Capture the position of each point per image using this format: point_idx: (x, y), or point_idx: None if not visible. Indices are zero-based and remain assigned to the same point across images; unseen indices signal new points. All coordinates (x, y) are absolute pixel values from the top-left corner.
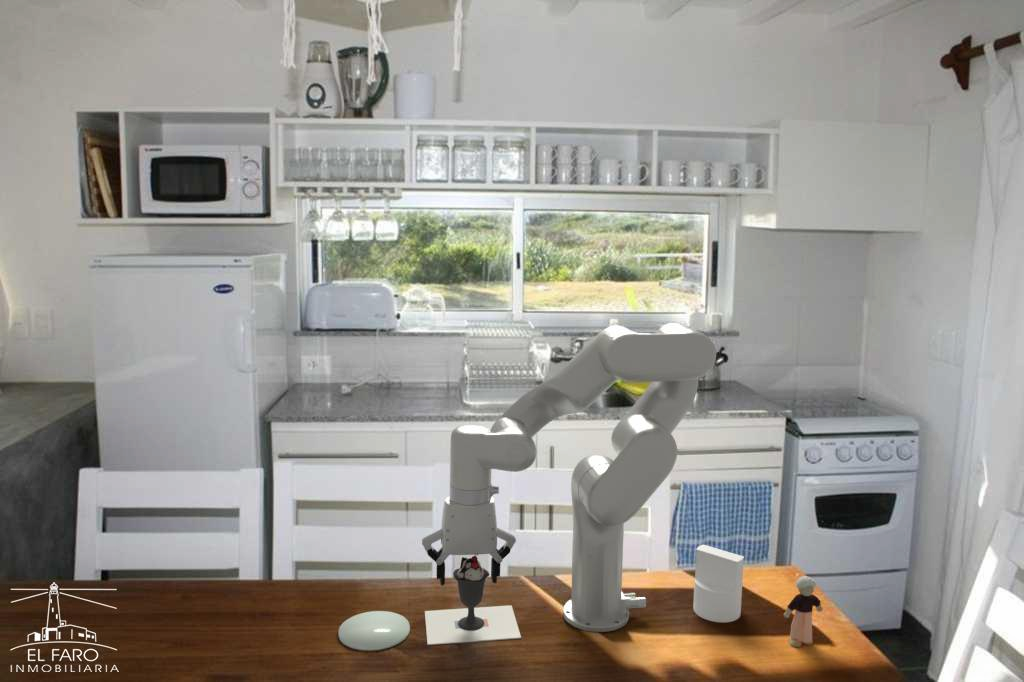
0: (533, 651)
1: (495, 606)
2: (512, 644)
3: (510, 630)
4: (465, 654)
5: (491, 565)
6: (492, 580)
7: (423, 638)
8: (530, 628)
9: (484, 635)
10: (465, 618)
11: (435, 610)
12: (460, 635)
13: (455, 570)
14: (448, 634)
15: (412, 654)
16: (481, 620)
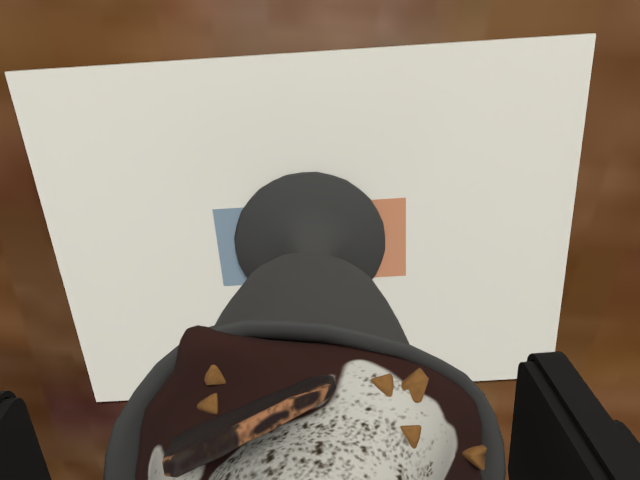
0: None
1: (483, 41)
2: (496, 412)
3: (514, 319)
4: None
5: (573, 468)
6: (513, 463)
7: (67, 345)
8: (624, 292)
9: None
10: (276, 225)
11: (76, 68)
12: None
13: (121, 437)
14: None
15: (45, 453)
16: (370, 236)
